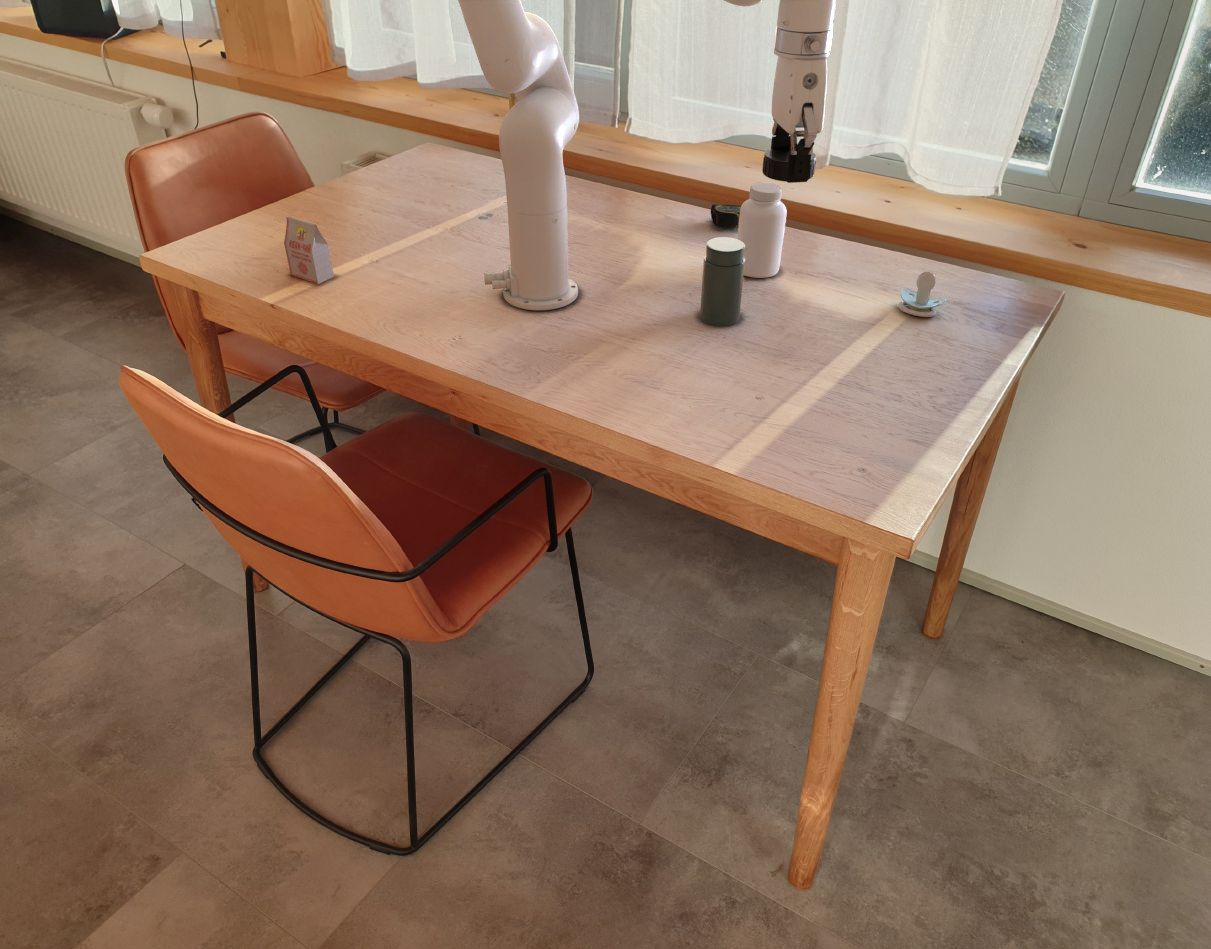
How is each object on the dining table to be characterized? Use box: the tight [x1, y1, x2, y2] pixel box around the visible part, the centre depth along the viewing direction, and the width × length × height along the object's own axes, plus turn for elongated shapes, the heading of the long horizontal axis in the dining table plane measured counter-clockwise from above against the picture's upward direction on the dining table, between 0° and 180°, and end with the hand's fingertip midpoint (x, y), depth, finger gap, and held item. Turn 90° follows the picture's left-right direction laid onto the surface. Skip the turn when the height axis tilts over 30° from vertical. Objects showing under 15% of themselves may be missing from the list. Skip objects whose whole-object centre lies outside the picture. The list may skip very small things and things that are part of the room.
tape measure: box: [710, 203, 742, 230], centre depth 182 cm, size 7×7×4 cm
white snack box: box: [283, 216, 335, 285], centre depth 161 cm, size 4×7×10 cm, turn 58°
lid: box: [761, 147, 817, 183], centre depth 136 cm, size 8×8×3 cm
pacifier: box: [896, 271, 947, 318], centre depth 152 cm, size 7×6×6 cm
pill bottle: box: [736, 181, 788, 279], centre depth 162 cm, size 8×8×15 cm
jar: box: [699, 236, 745, 327], centre depth 148 cm, size 6×6×12 cm
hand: (788, 171), depth 137 cm, fingers closed on lid, 7 cm apart
